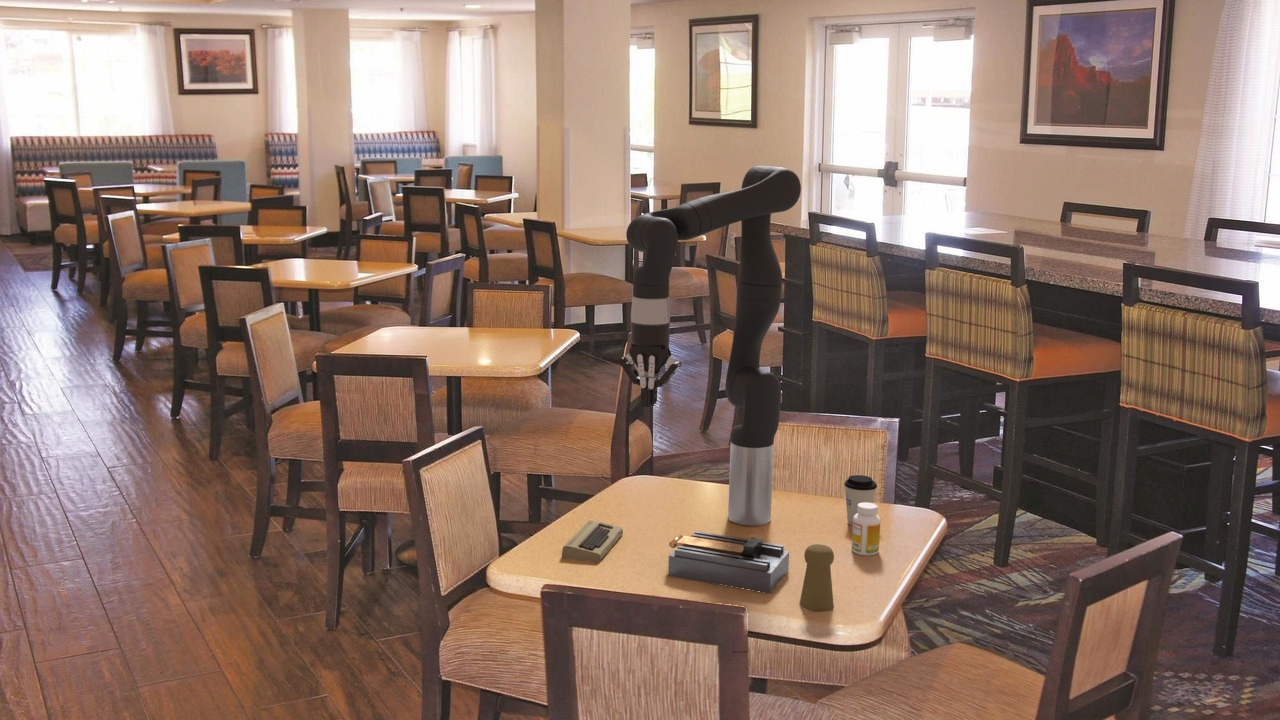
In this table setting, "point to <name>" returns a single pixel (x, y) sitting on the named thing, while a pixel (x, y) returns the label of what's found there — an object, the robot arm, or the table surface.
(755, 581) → the grey slider box
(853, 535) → the supplement bottle
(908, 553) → the table surface
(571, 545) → the computer
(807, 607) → the olive pawn
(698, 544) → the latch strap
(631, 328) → the robot arm
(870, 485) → the coffee cup
